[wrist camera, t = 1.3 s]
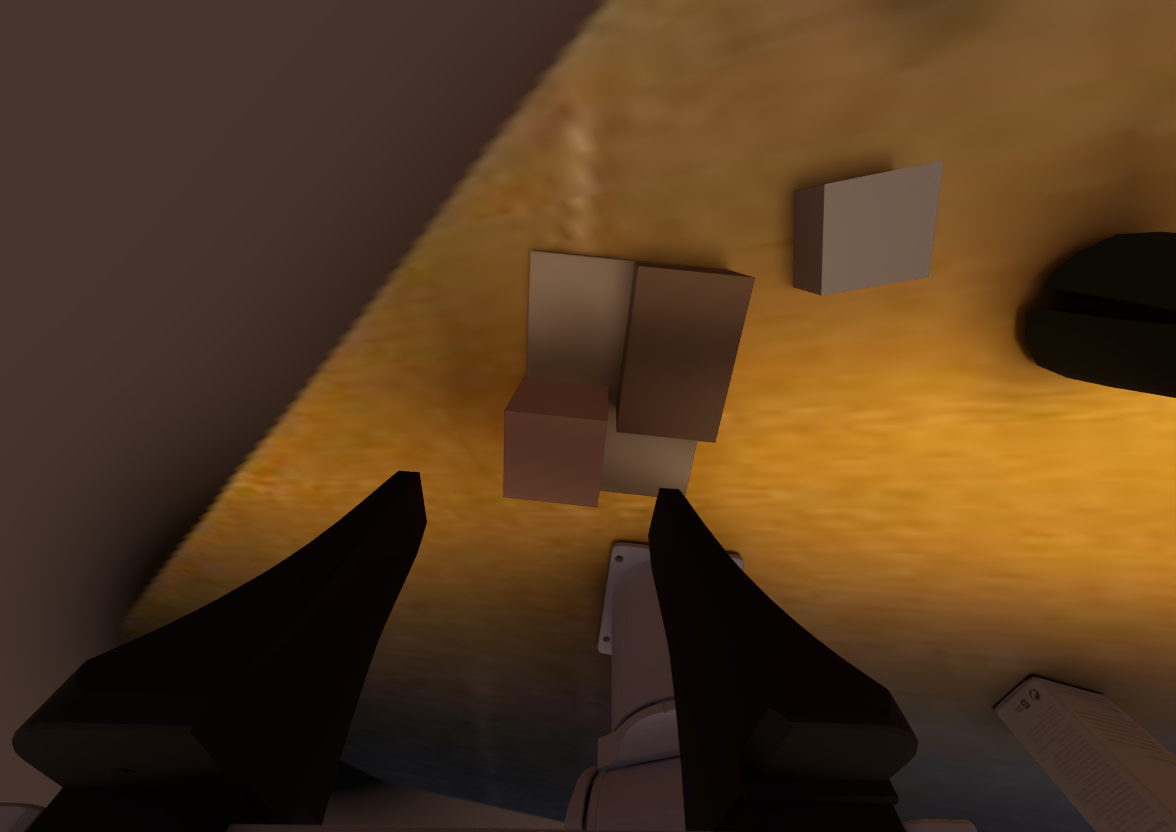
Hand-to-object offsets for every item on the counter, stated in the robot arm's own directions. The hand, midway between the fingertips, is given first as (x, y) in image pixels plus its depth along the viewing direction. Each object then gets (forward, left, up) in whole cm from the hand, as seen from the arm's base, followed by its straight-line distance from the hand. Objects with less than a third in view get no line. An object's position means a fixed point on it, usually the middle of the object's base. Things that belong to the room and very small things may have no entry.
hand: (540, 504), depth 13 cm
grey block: (+9, -11, -10) cm, 18 cm away
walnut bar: (+3, -5, -10) cm, 12 cm away
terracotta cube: (-1, 0, -9) cm, 9 cm away
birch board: (+1, -2, -10) cm, 10 cm away
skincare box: (-19, -35, -10) cm, 42 cm away
